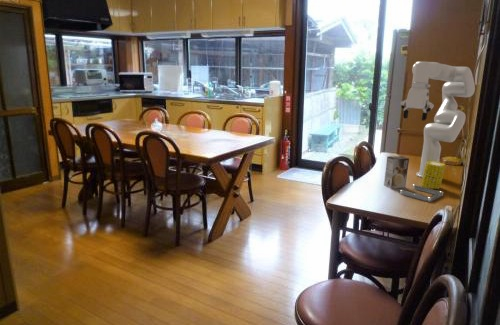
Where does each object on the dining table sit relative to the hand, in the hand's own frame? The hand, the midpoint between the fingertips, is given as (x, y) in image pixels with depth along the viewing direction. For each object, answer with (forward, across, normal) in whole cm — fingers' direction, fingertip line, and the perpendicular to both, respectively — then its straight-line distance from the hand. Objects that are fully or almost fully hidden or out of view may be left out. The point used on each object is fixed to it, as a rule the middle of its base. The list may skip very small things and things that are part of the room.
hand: (414, 119), depth 195 cm
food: (+36, -12, -5) cm, 38 cm away
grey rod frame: (+36, -14, +12) cm, 40 cm away
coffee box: (+36, +1, +10) cm, 37 cm away
